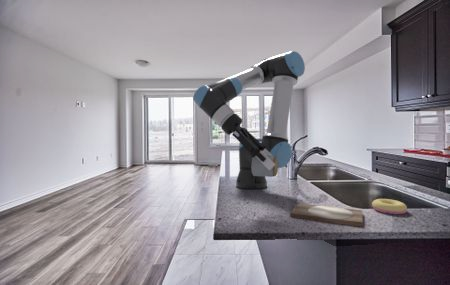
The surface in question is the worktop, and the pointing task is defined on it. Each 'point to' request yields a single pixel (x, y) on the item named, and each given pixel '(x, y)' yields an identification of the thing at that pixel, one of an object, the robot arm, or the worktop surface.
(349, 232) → the worktop surface
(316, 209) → the walnut board
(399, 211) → the donut
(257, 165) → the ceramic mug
